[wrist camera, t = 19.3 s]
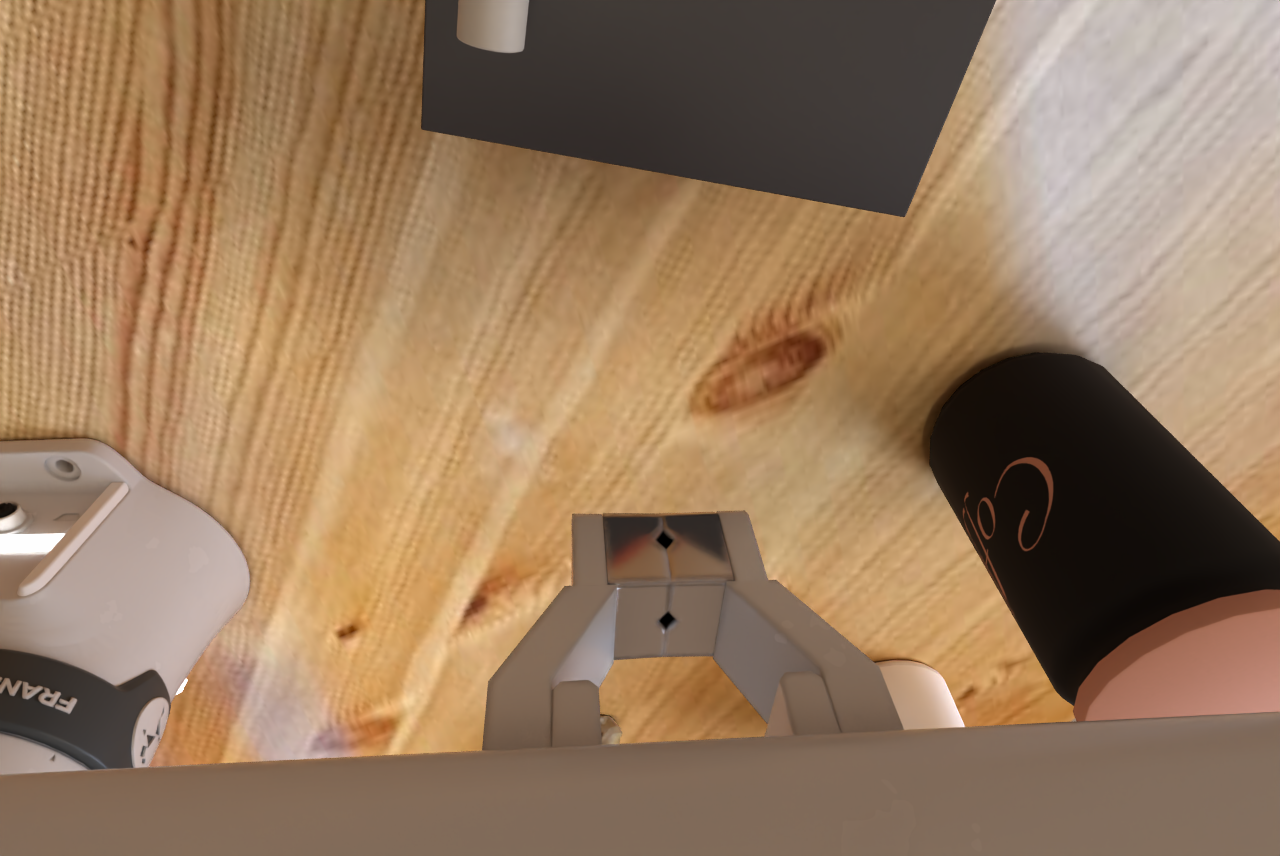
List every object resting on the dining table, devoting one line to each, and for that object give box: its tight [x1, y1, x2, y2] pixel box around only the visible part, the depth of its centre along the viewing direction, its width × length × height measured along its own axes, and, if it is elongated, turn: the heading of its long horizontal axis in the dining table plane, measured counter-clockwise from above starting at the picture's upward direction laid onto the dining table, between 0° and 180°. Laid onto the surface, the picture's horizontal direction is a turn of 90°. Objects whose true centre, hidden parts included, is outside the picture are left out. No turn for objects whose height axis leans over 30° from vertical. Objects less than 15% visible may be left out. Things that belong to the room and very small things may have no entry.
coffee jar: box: [930, 353, 1280, 721], centre depth 37 cm, size 11×11×18 cm
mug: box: [875, 660, 965, 730], centre depth 56 cm, size 13×10×10 cm
